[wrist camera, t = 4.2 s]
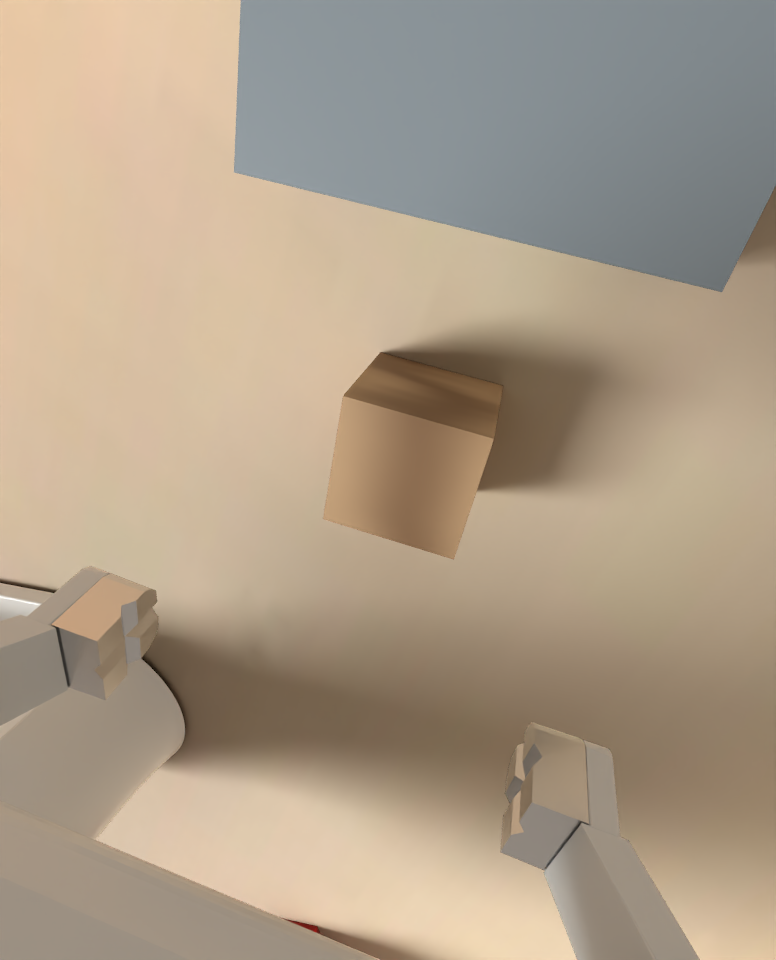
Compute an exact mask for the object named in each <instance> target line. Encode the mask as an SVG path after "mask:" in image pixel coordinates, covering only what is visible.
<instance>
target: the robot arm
mask: <svg viewBox="0 0 776 960" xmlns="http://www.w3.org/2000/svg"><path fill="white" fill-rule="evenodd" d="M156 603H157V594H156V590H153V589H151V588H148V587H145V586H143V585H140V584H138V583H135V582H132V581H130V580H127V579H125V578H122V577H119V576H117V575H114V574H112V573H109V572H106V571H103V570H101V569H98V568H95V567H92V566H89V567H87V568H84V569H82V570H80V571H79V572H78V573H77V574H76V575H75V576H73V577H72V578H71V579H70V580H69V581H68V582H66V583H65V584H64V585H63V586H62V587H61V588H59V589H58V590H57V591H56V592H55V593H50V592H45V591H40V590H35V589H29V588H24V587H19V586H14V585H8V584H3V583H0V960H380V959H378V958H375V957H373V956H370V955H368V954H366V953H363V952H361V951H359V950H356V949H354V948H351V947H349V946H347V945H344V944H342V943H339V942H337V941H335V940H332V939H330V938H328V937H325V936H323V935H320V934H318V933H316V932H313V931H311V930H309V929H306V928H304V927H301V926H299V925H297V924H294V923H292V922H289V921H287V920H285V919H282V918H280V917H278V916H275V915H273V914H270V913H268V912H266V911H263V910H261V909H258V908H256V907H254V906H251V905H249V904H247V903H244V902H242V901H239V900H237V899H235V898H232V897H230V896H227V895H225V894H223V893H220V892H218V891H216V890H213V889H211V888H208V887H206V886H204V885H201V884H199V883H196V882H194V881H192V880H189V879H187V878H185V877H182V876H180V875H177V874H175V873H173V872H170V871H168V870H165V869H163V868H161V867H158V866H156V865H154V864H151V863H149V862H146V861H144V860H142V859H139V858H137V857H134V856H132V855H130V854H127V853H125V852H123V851H120V850H118V849H115V848H113V847H111V846H108V845H106V844H103V843H101V842H99V841H96V839H97V838H98V837H99V835H100V834H101V833H102V832H103V830H104V829H105V828H106V827H107V825H108V824H109V823H110V822H111V821H112V819H113V818H114V817H115V816H116V814H117V813H118V812H119V811H120V810H121V808H122V807H123V806H124V805H125V804H126V803H127V802H128V800H129V799H130V798H131V797H132V796H133V795H134V794H135V792H136V791H137V790H138V789H139V788H140V787H141V786H142V785H143V784H144V783H145V782H146V781H147V779H148V778H149V777H150V776H151V775H152V774H153V773H154V772H155V771H156V770H157V769H158V768H159V767H160V766H162V765H163V764H164V763H165V762H166V761H167V760H168V759H169V758H170V757H171V756H173V755H174V754H175V753H176V752H177V751H178V750H179V748H180V747H181V745H182V743H183V741H184V736H185V723H184V718H183V715H182V712H181V709H180V707H179V705H178V703H177V701H176V699H175V697H174V696H173V694H172V692H171V691H170V689H169V688H168V687H167V685H166V684H165V683H164V681H163V680H162V679H161V678H160V677H159V675H158V674H157V673H156V672H155V671H154V670H153V669H152V668H151V667H150V666H149V665H148V664H147V663H146V662H145V661H143V660H142V659H141V658H142V657H143V655H144V654H145V653H146V652H147V650H148V649H149V648H150V646H151V644H152V642H153V640H154V638H155V636H156V634H157V629H158V625H159V624H158V615H157V614H156V613H155V611H154V610H153V608H152V607H153V606H154V605H155V604H156ZM505 794H506V796H507V798H508V800H509V802H510V805H509V807H508V808H507V810H506V812H505V814H504V815H503V823H502V837H501V850H500V852H501V853H504V854H506V855H509V856H511V857H514V858H516V859H518V860H521V861H523V862H526V863H528V864H530V865H533V866H535V867H538V868H540V869H542V870H545V871H544V875H545V877H546V880H547V883H548V885H549V888H550V890H551V893H552V896H553V898H554V901H555V903H556V906H557V909H558V911H559V914H560V916H561V919H562V922H563V924H564V927H565V929H566V932H567V935H568V937H569V940H570V942H571V945H572V947H573V950H574V953H575V955H576V958H577V960H700V959H699V957H698V956H697V954H696V952H695V951H694V949H693V947H692V946H691V944H690V942H689V941H688V939H687V937H686V936H685V934H684V932H683V931H682V929H681V927H680V926H679V924H678V922H677V921H676V919H675V917H674V916H673V914H672V912H671V911H670V909H669V907H668V906H667V904H666V902H665V900H664V899H663V897H662V895H661V894H660V892H659V890H658V889H657V887H656V885H655V884H654V882H653V880H652V879H651V877H650V875H649V874H648V872H647V870H646V869H645V867H644V865H643V864H642V862H641V860H640V859H639V857H638V855H637V854H636V852H635V850H634V849H633V847H632V845H631V843H630V842H629V840H627V839H624V838H622V837H620V827H619V817H618V807H617V797H616V786H615V776H614V766H613V756H612V753H611V751H610V749H608V748H606V747H603V746H600V745H597V744H594V743H591V742H588V741H585V740H582V739H581V738H579V737H576V736H573V735H570V734H567V733H564V732H561V731H558V730H555V729H552V728H549V727H546V726H543V725H540V724H537V723H534V722H532V723H530V724H529V725H528V727H527V728H526V730H525V732H524V743H522V744H519V745H517V747H516V749H515V751H514V753H513V755H512V758H511V761H510V764H509V768H508V773H507V779H506V788H505Z"/></svg>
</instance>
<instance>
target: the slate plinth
mask: <svg viewBox="0 0 776 960" xmlns="http://www.w3.org/2000/svg"><path fill="white" fill-rule="evenodd" d="M234 172H235V173H239V174H243V175H247V176H251V177H255V178H259V179H263V180H267V181H271V182H276V183H280V184H284V185H288V186H292V187H296V188H300V189H304V190H308V191H312V192H316V193H320V194H324V195H328V196H333V197H337V198H341V199H345V200H349V201H353V202H357V203H361V204H365V205H369V206H373V207H377V208H381V209H385V210H390V211H394V212H398V213H402V214H406V215H410V216H414V217H418V218H422V219H426V220H430V221H434V222H438V223H442V224H447V225H451V226H455V227H459V228H463V229H467V230H471V231H475V232H479V233H483V234H487V235H491V236H495V237H499V238H504V239H508V240H512V241H516V242H520V243H524V244H528V245H532V246H536V247H540V248H544V249H548V250H552V251H556V252H561V253H565V254H569V255H573V256H577V257H581V258H585V259H589V260H593V261H597V262H601V263H605V264H609V265H613V266H618V267H622V268H626V269H630V270H634V271H638V272H642V273H646V274H650V275H654V276H658V277H662V278H666V279H671V280H675V281H679V282H683V283H687V284H691V285H695V286H699V287H703V288H707V289H711V290H715V291H719V292H722V291H723V289H724V287H725V285H726V283H727V281H728V279H729V277H730V275H731V273H732V271H733V269H734V267H735V265H736V263H737V261H738V259H739V257H740V255H741V253H742V251H743V249H744V247H745V245H746V243H747V241H748V239H749V237H750V236H751V234H752V232H753V230H754V228H755V226H756V224H757V222H758V220H759V218H760V216H761V214H762V212H763V210H764V208H765V206H766V204H767V202H768V200H769V198H770V196H771V194H772V192H773V190H774V188H775V186H776V0H241V10H240V35H239V61H238V86H237V111H236V137H235V162H234Z"/></svg>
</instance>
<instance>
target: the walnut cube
mask: <svg viewBox="0 0 776 960" xmlns="http://www.w3.org/2000/svg"><path fill="white" fill-rule="evenodd" d="M502 391H503V386H502V385H498V384H495V383H491V382H487V381H484V380H480V379H476V378H473V377H469V376H466V375H462V374H458V373H455V372H451V371H447V370H444V369H440V368H436V367H433V366H429V365H425V364H422V363H418V362H414V361H411V360H407V359H403V358H400V357H396V356H393V355H389V354H385V353H382V352H380V354H379V355H378V356H377V357H376V358H375V359H374V361H373V362H372V363H371V364H370V365H369V366H368V368H367V369H366V370H365V371H364V372H363V373H362V375H361V376H360V377H359V378H358V379H357V380H356V382H355V383H354V384H353V385H352V386H351V387H350V389H349V390H348V391H347V392H346V393H345V394H344V396H343V400H342V406H341V412H340V418H339V424H338V430H337V437H336V443H335V449H334V455H333V461H332V467H331V474H330V480H329V486H328V492H327V498H326V504H325V510H324V517H323V519H325V520H328V521H331V522H334V523H338V524H341V525H344V526H347V527H351V528H354V529H357V530H360V531H364V532H367V533H370V534H373V535H376V536H380V537H383V538H386V539H389V540H393V541H396V542H399V543H402V544H405V545H409V546H412V547H415V548H418V549H422V550H425V551H428V552H431V553H435V554H438V555H441V556H444V557H447V558H451V559H454V557H455V554H456V551H457V548H458V545H459V542H460V539H461V536H462V533H463V530H464V527H465V524H466V521H467V518H468V515H469V512H470V509H471V506H472V504H473V501H474V498H475V495H476V492H477V489H478V486H479V483H480V480H481V477H482V474H483V471H484V468H485V465H486V462H487V459H488V456H489V453H490V450H491V447H492V444H493V441H494V437H495V431H496V426H497V420H498V414H499V408H500V402H501V397H502Z"/></svg>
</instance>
